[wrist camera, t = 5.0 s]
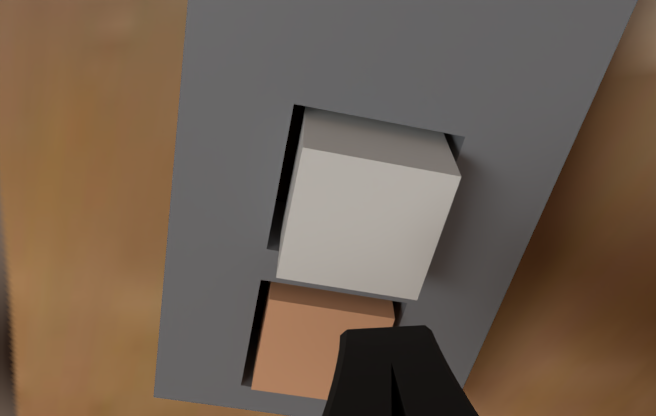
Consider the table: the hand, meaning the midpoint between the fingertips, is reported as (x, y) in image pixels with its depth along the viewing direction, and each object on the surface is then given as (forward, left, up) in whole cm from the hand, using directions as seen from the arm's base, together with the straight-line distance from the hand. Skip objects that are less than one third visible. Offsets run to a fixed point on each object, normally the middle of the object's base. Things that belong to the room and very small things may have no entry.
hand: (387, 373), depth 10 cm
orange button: (-4, +3, -8) cm, 9 cm away
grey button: (0, 0, -7) cm, 7 cm away
